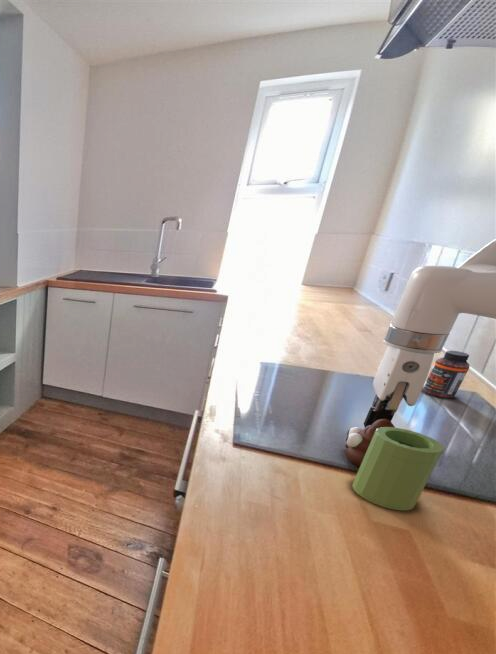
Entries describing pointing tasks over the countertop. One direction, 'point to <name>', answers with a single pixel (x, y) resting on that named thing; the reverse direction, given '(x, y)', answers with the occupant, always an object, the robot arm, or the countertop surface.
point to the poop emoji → (362, 440)
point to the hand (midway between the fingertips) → (374, 428)
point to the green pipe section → (396, 467)
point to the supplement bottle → (447, 374)
